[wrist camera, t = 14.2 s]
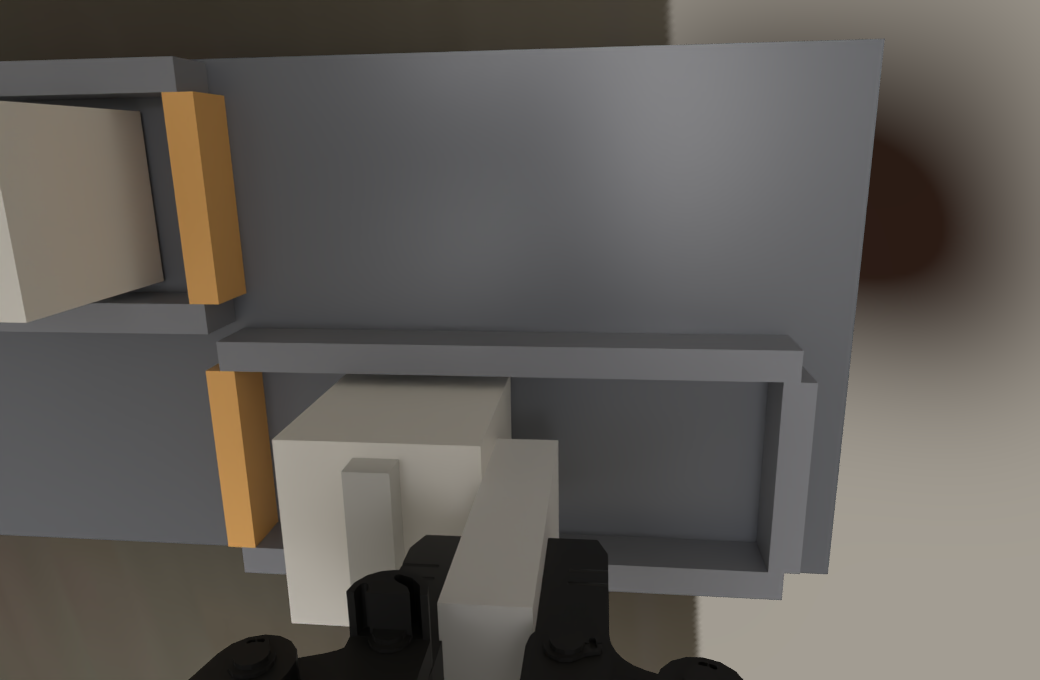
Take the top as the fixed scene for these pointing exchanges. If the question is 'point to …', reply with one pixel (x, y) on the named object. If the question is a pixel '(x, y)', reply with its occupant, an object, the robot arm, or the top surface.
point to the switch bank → (472, 290)
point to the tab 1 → (72, 209)
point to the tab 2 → (379, 477)
